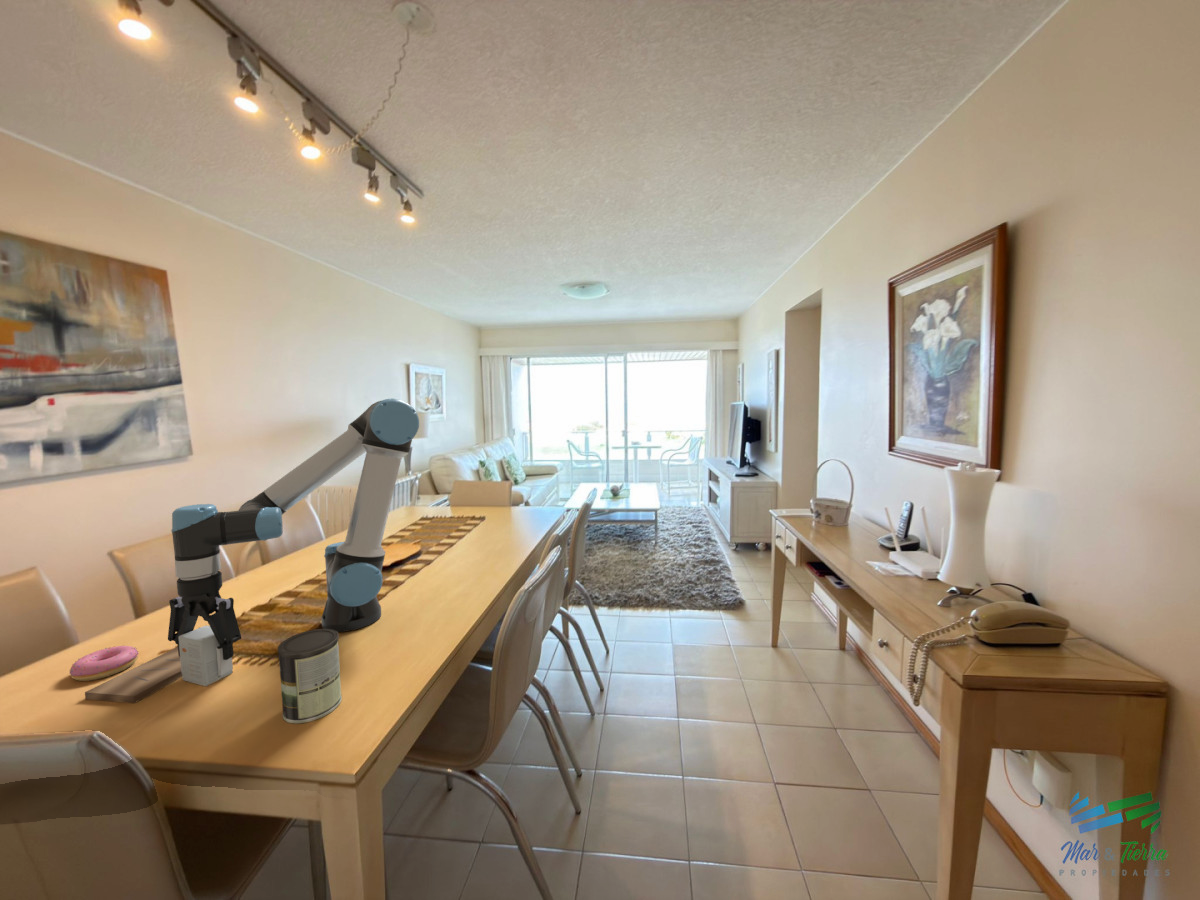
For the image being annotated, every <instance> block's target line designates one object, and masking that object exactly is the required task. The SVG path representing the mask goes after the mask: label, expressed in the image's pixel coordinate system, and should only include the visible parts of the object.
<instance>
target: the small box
mask: <svg viewBox="0 0 1200 900" xmlns="http://www.w3.org/2000/svg"><path fill="white" fill-rule="evenodd" d="M225 640H226V638H225ZM218 646H220V645H219V643H218V641H217V639H216V637H215V635H214V633H213V631H212V629H211V627H210V625H207V624H206V625H204V626H200V627H198V628H197V629H194V630H193V631H190V632H188V633H185V634H183V635H180V636H179V647H180V657H181V667H182V677H181V678H182V680H183V681H185V682H188V683H192V684H196V685H199V686H203V687H207V686H209V685H212V684H214V683H215V682H217V681H220V680H222V679H224V678H225V677H227V676H229V675H231V674H232V673H233V669H232V670H230V671H229V672H227V673H225V674H224V675H222V676H219V675H218V662H217V650H216V648H217V647H218Z"/></svg>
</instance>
